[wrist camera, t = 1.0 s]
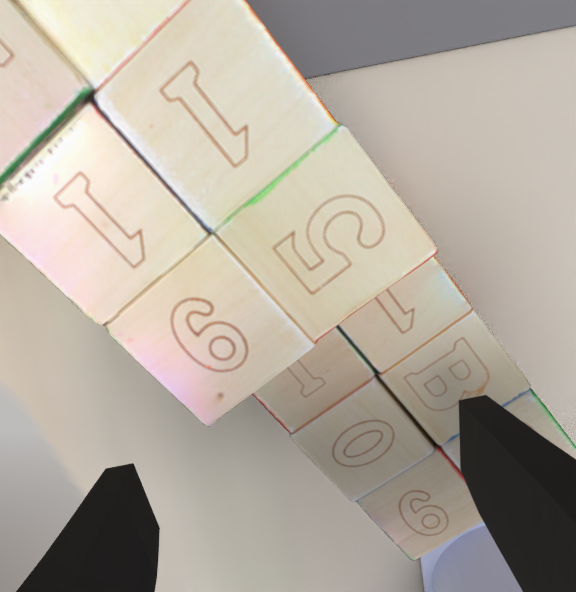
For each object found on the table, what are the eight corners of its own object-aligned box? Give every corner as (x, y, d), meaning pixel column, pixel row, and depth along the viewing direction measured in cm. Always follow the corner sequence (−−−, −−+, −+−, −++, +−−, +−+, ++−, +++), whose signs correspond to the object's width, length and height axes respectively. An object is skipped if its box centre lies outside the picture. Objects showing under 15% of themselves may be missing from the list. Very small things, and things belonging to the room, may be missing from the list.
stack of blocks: (476, 332, 24) (660, 548, 12) (364, 407, 25) (435, 666, 14) (147, -113, 18) (-102, -510, 6) (23, 16, 19) (-369, -118, 8)
